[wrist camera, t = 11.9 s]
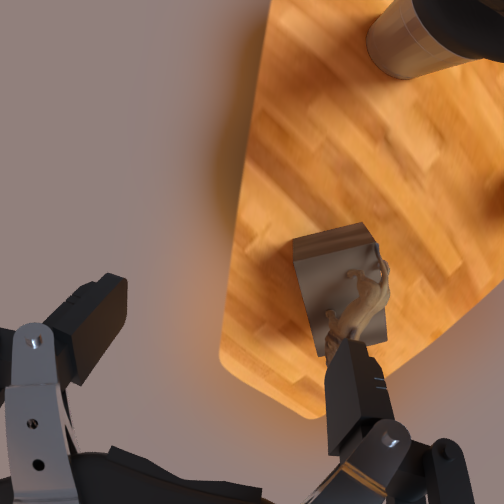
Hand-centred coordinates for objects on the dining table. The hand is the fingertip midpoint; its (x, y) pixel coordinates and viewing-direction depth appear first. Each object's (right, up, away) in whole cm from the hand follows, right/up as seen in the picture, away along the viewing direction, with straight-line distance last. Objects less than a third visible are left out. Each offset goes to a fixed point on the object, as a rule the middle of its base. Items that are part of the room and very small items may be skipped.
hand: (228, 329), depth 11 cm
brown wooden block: (+13, -1, +35) cm, 37 cm away
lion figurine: (+13, -3, +27) cm, 30 cm away
